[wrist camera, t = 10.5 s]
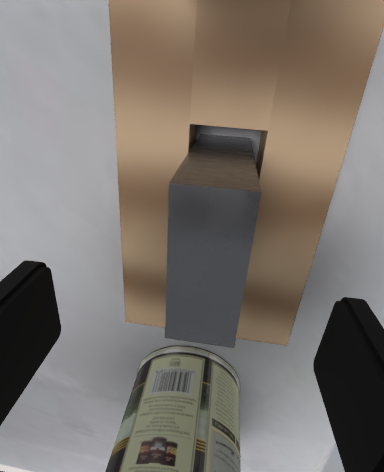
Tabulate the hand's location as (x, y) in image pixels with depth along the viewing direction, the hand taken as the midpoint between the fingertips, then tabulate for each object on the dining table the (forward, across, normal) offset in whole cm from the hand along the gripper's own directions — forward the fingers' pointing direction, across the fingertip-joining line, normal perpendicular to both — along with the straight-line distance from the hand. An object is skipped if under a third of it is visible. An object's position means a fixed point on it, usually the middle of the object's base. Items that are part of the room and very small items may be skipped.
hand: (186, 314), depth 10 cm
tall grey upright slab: (+12, -1, -1) cm, 12 cm away
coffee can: (+12, 0, +20) cm, 23 cm away
